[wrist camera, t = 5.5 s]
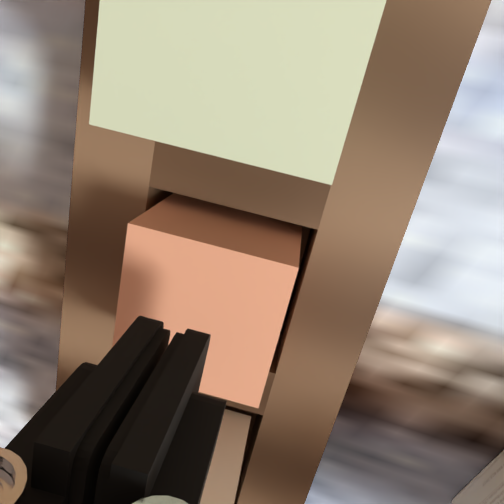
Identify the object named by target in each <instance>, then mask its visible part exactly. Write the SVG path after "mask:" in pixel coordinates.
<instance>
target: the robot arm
mask: <svg viewBox="0 0 504 504" xmlns="http://www.w3.org/2000/svg"><path fill="white" fill-rule="evenodd" d="M210 337H211V334H207V333H203V332H200V331H196V330H192V329H187V330H186V331H185V333H184V334H182V333H179V332H176V334H175V335H174V337H173V339H172V340H171V342H170V344H169V339H170V330H168V329H164V323H163V322H162V321H159V320H155V319H151V318H148V317H144V316H138V317H137V318H136V319H135V321H134V322H133V323H132V324H131V325H130V327H129V328H128V329H127V330H126V332H125V333H124V334H123V335H122V336H121V338H120V339H119V340H118V341H117V342H116V344H115V345H114V346H113V347H112V348H111V350H110V351H109V352H108V353H107V354H106V356H105V357H104V358H103V359H102V360H101V362H100V363H99V364H98V365H95V364H91V363H88V362H85V363H82V364H81V365H80V366H79V367H78V368H77V369H76V370H75V371H74V372H73V373H72V374H71V375H70V376H69V378H68V379H67V380H66V381H65V382H64V383H63V384H62V385H61V386H60V388H59V389H58V390H57V391H56V392H55V393H54V394H53V395H52V396H51V398H50V399H49V400H48V401H47V402H46V403H45V404H44V405H43V406H42V408H41V409H40V410H39V411H38V412H37V413H36V414H35V415H34V416H33V418H32V419H31V420H30V421H29V422H28V423H27V424H26V425H25V426H24V428H23V429H22V430H21V431H20V432H19V433H18V434H17V435H16V436H15V437H14V439H13V440H12V441H11V442H10V443H9V444H8V445H7V446H6V447H5V449H4V448H0V504H200V501H201V497H202V494H203V490H204V486H205V483H206V479H207V475H208V472H209V468H210V465H211V461H212V457H213V453H214V450H215V446H216V442H217V438H218V434H219V430H220V427H221V423H222V419H223V415H224V411H225V407H226V403H227V401H226V400H222V399H218V398H215V397H211V396H208V395H204V394H200V393H198V392H199V387H200V383H201V378H202V374H203V369H204V365H205V361H206V356H207V352H208V347H209V343H210ZM168 344H169V345H168Z"/></svg>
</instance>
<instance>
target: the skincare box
mask: <svg viewBox="0 0 504 504" xmlns="http://www.w3.org/2000/svg"><path fill="white" fill-rule="evenodd" d="M451 503H452V504H504V450H503V451H502V452H501V453H500V454H499V455H498V456H497V457H496V458H495V459H494V460H493V461H492V462H491V463H490V464H489V465H487V466H486V467H485V468H484V469H483V470H482V471H481V472H480V473H479V474H478V475H477V476H476V477H475V478H473V480H472V481H471V482H470V483H469V484H468V485H467V486H466V487H465V488H464V489H462V490H461V491H460V492H459V493H458V494H457V495H456V496H455V497H454V498H453V500H452V502H451Z"/></svg>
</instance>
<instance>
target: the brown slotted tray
mask: <svg viewBox="0 0 504 504" xmlns="http://www.w3.org/2000/svg"><path fill="white" fill-rule="evenodd" d="M99 3H100V0H86V2H85V15H84V28H83V41H82V54H81V67H80V80H79V94H78V107H77V120H76V133H75V146H74V159H73V172H72V185H71V198H70V212H69V225H68V238H67V251H66V264H65V277H64V290H63V303H62V317H61V330H60V343H59V356H58V369H57V382H56V391H57V390H58V389H59V388H60V386H61V385H62V384H63V383H64V382H65V381H66V380H67V379H68V378H69V376H70V375H71V374H72V373H73V372H74V371H75V370H76V369H77V368H78V367H79V366H80V365H81V364H82V363H85V362H88V363H91V364H95V365H98V364H99V363H100V362H101V360H102V359H103V358H104V357H105V356H106V354H107V353H108V352H109V351H110V350H111V348H112V344H113V336H114V328H115V320H116V312H117V304H118V297H119V289H120V281H121V273H122V265H123V257H124V250H125V242H126V234H127V226H128V223H129V222H130V221H132V220H133V219H135V218H136V217H138V216H140V215H141V214H143V213H144V212H146V211H147V210H149V209H150V208H152V207H153V206H155V205H156V204H158V203H159V202H161V201H163V200H164V199H166V198H167V197H169V196H170V195H172V194H173V193H176V194H180V195H184V196H188V197H192V198H196V199H200V200H204V201H208V202H212V203H216V204H219V205H223V206H227V207H231V208H235V209H239V210H243V211H247V212H251V213H255V214H258V215H262V216H266V217H270V218H274V219H278V220H282V221H286V222H290V223H294V224H297V225H301V226H302V236H301V247H300V259H299V269H298V272H297V276H296V279H295V283H294V286H293V290H292V293H291V297H290V300H289V304H288V307H287V310H286V314H285V317H284V321H283V324H282V328H281V331H280V335H279V338H278V342H277V345H276V349H275V352H274V356H273V359H272V363H271V366H270V370H269V373H268V377H267V380H266V384H265V387H264V391H263V394H262V398H261V401H260V404H259V408H255V407H251V406H248V405H244V404H241V403H237V402H233V401H230V400H226V399H223V398H219V397H215V396H212V395H208V394H205V393H201V392H198V393H200V394H204V395H208V396H211V397H215V398H218V399H222V400H226V401H227V403H226V407H225V409H227V410H231V411H234V412H238V413H241V414H245V415H248V416H251V420H250V425H249V431H248V436H247V441H246V446H245V451H244V456H243V461H242V466H241V471H240V476H239V482H238V487H237V492H236V497H235V502H234V504H304V503H305V501H306V498H307V495H308V492H309V490H310V487H311V484H312V482H313V479H314V476H315V474H316V471H317V468H318V466H319V463H320V460H321V458H322V455H323V452H324V449H325V447H326V444H327V441H328V439H329V436H330V433H331V431H332V428H333V425H334V423H335V420H336V417H337V414H338V412H339V409H340V406H341V404H342V401H343V398H344V396H345V393H346V390H347V388H348V385H349V382H350V379H351V377H352V374H353V371H354V369H355V366H356V363H357V361H358V358H359V355H360V353H361V350H362V347H363V344H364V342H365V339H366V336H367V334H368V331H369V328H370V326H371V323H372V320H373V318H374V315H375V312H376V309H377V307H378V304H379V301H380V299H381V296H382V293H383V291H384V288H385V285H386V283H387V280H388V277H389V275H390V272H391V269H392V266H393V264H394V261H395V258H396V256H397V253H398V250H399V248H400V245H401V242H402V240H403V237H404V234H405V231H406V229H407V226H408V223H409V221H410V218H411V215H412V213H413V210H414V207H415V205H416V202H417V199H418V196H419V194H420V191H421V188H422V186H423V183H424V180H425V178H426V175H427V172H428V170H429V167H430V164H431V161H432V159H433V156H434V153H435V151H436V148H437V145H438V143H439V140H440V137H441V135H442V132H443V129H444V126H445V124H446V121H447V118H448V116H449V113H450V110H451V108H452V105H453V102H454V100H455V97H456V94H457V91H458V89H459V86H460V83H461V81H462V78H463V75H464V73H465V70H466V67H467V65H468V62H469V59H470V57H471V54H472V51H473V48H474V46H475V43H476V40H477V38H478V35H479V32H480V30H481V27H482V24H483V22H484V19H485V16H486V13H487V11H488V8H489V5H490V3H491V0H386V4H385V7H384V10H383V14H382V17H381V20H380V24H379V27H378V31H377V34H376V37H375V41H374V44H373V48H372V51H371V54H370V58H369V61H368V65H367V68H366V71H365V75H364V78H363V81H362V85H361V88H360V92H359V95H358V98H357V102H356V105H355V109H354V112H353V115H352V119H351V122H350V125H349V129H348V132H347V136H346V139H345V142H344V146H343V149H342V153H341V156H340V159H339V163H338V166H337V170H336V173H335V176H334V180H333V183H332V185H329V184H325V183H321V182H317V181H313V180H309V179H305V178H301V177H297V176H293V175H289V174H285V173H281V172H277V171H273V170H269V169H265V168H261V167H257V166H253V165H249V164H245V163H241V162H237V161H233V160H229V159H225V158H221V157H217V156H213V155H209V154H205V153H201V152H197V151H193V150H189V149H185V148H181V147H177V146H173V145H169V144H165V143H161V142H157V141H153V140H149V139H145V138H141V137H137V136H133V135H130V134H126V133H122V132H118V131H114V130H110V129H106V128H102V127H98V126H94V125H90V124H89V119H90V107H91V96H92V84H93V72H94V61H95V49H96V38H97V26H98V15H99Z"/></svg>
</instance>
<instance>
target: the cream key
mask: <svg viewBox="0 0 504 504" xmlns="http://www.w3.org/2000/svg"><path fill="white" fill-rule="evenodd" d="M250 420H251V416H248V415H245V414H241V413H238V412H234V411H231V410H227V409H225V411H224V415H223V419H222V423H221V427H220V430H219V434H218V438H217V442H216V446H215V450H214V453H213V457H212V461H211V465H210V468H209V472H208V475H207V479H206V483H205V486H204V490H203V494H202V497H201V501H200V504H234V502H235V497H236V492H237V487H238V482H239V476H240V471H241V466H242V461H243V456H244V451H245V446H246V441H247V436H248V431H249V425H250Z"/></svg>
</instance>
